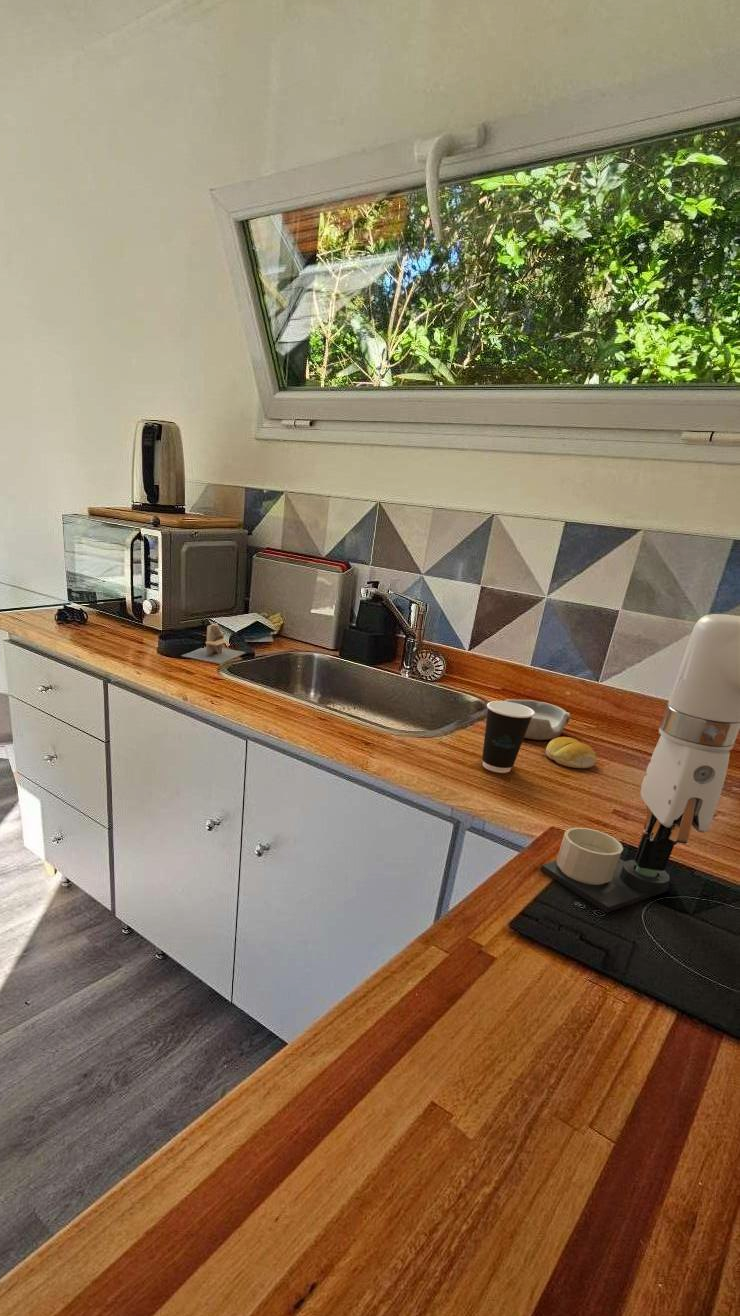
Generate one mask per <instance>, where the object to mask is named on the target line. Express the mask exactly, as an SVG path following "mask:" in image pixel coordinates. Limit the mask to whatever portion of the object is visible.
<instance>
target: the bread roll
mask: <svg viewBox="0 0 740 1316" xmlns="http://www.w3.org/2000/svg"><path fill="white" fill-rule="evenodd" d="M545 755H546V757H548V758H549V759H550V760H552V761H554V762H556V764H559V765H561V766H564V767H567V768H573V769H590V768H592V767H593V766H595V763H596V761H597V759H598V756H597V753H596V752H595V751H594V749H593V748H592V747H591V746H590V745H589V744H586V743H584V742H580V741H579V740H578V739H576V738H573V737H570V736H558V737H556V738H553V739H551V740H550V741H549V742H548V744H547V745H546V746H545Z"/></svg>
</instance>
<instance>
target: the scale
mask: <svg viewBox="0 0 740 1316" xmlns="http://www.w3.org/2000/svg"><path fill="white" fill-rule="evenodd" d="M636 867H637V863H636V862H635V860H634V859H629V860H623V859H621V858H620V861H619V863H618V866H617V869H616V872H615V875H614V877H613V879H612V881H610V882H607V883H604V884H600V885H591V884H586V883H582V882H579V881H576V880H574V879H572V878H570V877H568V876H567V875H565V874H564V873H563V872H562V871H561V869H560V868H559V867H558V865H557V861H556V860H555V861H554V860H553V861H551V862H547V863H544V864H541V866H540V870H539V871H541V872H542V873H544V874H545V875H547V876H549V877H550V878H552V879H553V880H555V881H556V882H558V883H559V884H561V885H562V886H564V887H565V888H567V889H569V890H570V891H572V892H573V893H575V894H577V896H580V897H581V898H583V899H584V900H586V901H587V902H589V903H591V904H592V905H593V906H595V907H597V908H599V910H601V911H603V912H605V913H607V914H608V913H611V912H614V911H616V910H619V909H622V908H624V907H627V906H630V905H632V904H635V903H639V902H641V901H643V900H646V899H650V898H652V897H655V896H657V895H660V894H663V893H666V892H668V889H669V884H670V879H671V876H670V874H668V872H667V871H666V869H665V870H663V871H659V870H658V873H657V876H656V878H652V877H646V876H643V875H641V874H639V873H637V872H636V871H635V869H636Z"/></svg>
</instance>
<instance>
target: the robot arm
mask: <svg viewBox="0 0 740 1316" xmlns="http://www.w3.org/2000/svg"><path fill="white" fill-rule="evenodd" d="M739 732H740V615H733V614H724V613H710V614H706V615H703V616H702V617H700V618H699V619H698V620H697V621H696V622H695V624H694V626H693V628H692V632H691V634H690V637H689V640H688V643H687V646H686V649H685V652H684V655H683V658H682V661H681V663H680V667H679V669H678V672H677V676H676V679H675V681H674V685H673V688H672V690H671V694H670V696H669V698H668V701H667V705H666V708H665V711H664V715H663V718H662V720H661V723H660V727H659V728H658V734H659V735H660V737H659V739H658V740H657V743H656V745H655V748H654V750H653V753H652V755H651V757H650V760H649V762H648V765H647V768H646V770H645V773H644V776H643V778H642V779H643V780H642V783H641V787H640V792H639V793H640V797H641V799H642V801H643V803H644V804H645V807H646V809H647V812H646V816H645V821H644V824H643V832H642V835H641V838H640V840H639V843H638V847H637V850H636V852H635V855H634V858H633V860H635V862H636V863H637V865H638V866H639V867H640V868H646V869H653V870H659V871H663V870H665V871H666V868H667V865H668V862H669V860H670V857H671V854H672V852H673V850H674V847H675V846H676V845H678V843H679V844H685V845H686V844H688V841H689V837H690V833H691V830H692V827H693V828H694V829H695V830H696V831H697V832H698V833H701V834H702V833H703V834H705V833H706V832H708V830H709V829H710V827H711V824H712V821H713V819H714V815H715V813H716V811H717V807H718V804H719V801H720V798H721V794H722V791H723V787H724V784H725V780H726V777H727V772H728V768H729V762H730V757H731V753H730V751H731V750H732V749H733V748H734V745H735V742H736V740H737V737H738V734H739Z"/></svg>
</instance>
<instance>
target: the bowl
mask: <svg viewBox="0 0 740 1316" xmlns="http://www.w3.org/2000/svg"><path fill="white" fill-rule="evenodd" d="M623 852H624V846H623V843H621V842H620V841H619V840H618V839H617V838H615V837H613V836H611V835H610V834H608V833H605V832H603V831H601V830H597V829H592V828H588V827H571V828H567V829H566V830H565V832H564V834H563V837H562V840H561V843H560V847H559V850H558V853H557V857H556V860H555V861H557V865H558V867H559V868H560V869H561V871H562V872H563V873H564V874H565V875H567V876H568V877H570V878H572V879H574V880H576V881H579V882H582V883H586V884H591V885H600V884H604V883H607V882H610V881H612V879H613V877H614V875H615V872H616V869H617V866H618V863H619V861H620V859H621V858H622V855H623Z"/></svg>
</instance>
